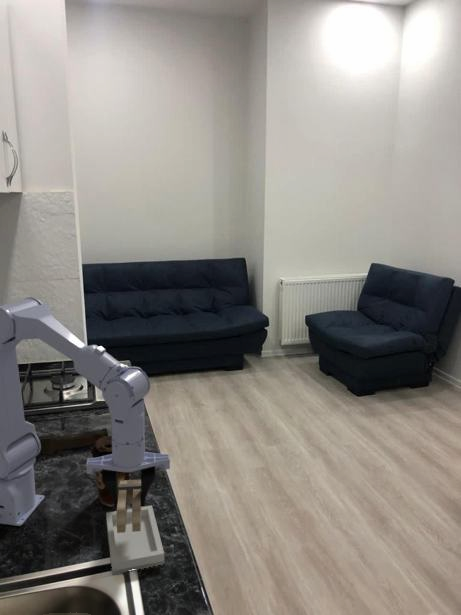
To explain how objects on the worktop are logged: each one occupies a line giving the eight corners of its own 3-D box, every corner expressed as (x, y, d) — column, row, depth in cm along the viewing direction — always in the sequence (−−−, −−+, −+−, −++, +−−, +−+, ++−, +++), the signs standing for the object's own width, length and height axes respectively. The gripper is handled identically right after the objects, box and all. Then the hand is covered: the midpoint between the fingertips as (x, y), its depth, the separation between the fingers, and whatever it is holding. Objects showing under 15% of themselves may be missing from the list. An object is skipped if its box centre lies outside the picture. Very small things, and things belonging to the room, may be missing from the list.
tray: (164, 564, 90) (164, 553, 89) (112, 575, 87) (111, 563, 86) (151, 515, 103) (151, 505, 102) (106, 523, 100) (106, 512, 99)
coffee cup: (92, 512, 103) (90, 455, 100) (92, 489, 111) (89, 435, 107) (135, 506, 105) (134, 450, 102) (132, 484, 113) (131, 431, 110)
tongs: (119, 499, 97) (118, 478, 96) (142, 497, 98) (142, 477, 97) (115, 533, 88) (115, 510, 87) (141, 531, 88) (141, 508, 87)
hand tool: (107, 439, 132) (106, 422, 131) (109, 446, 129) (108, 429, 128) (30, 450, 126) (28, 433, 125) (29, 458, 122) (28, 441, 121)
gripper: (168, 424, 94) (168, 488, 98) (88, 427, 92) (91, 493, 95) (170, 443, 87) (170, 511, 91) (83, 447, 85) (87, 517, 89)
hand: (129, 504), depth 93 cm, fingers closed on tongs, 4 cm apart
